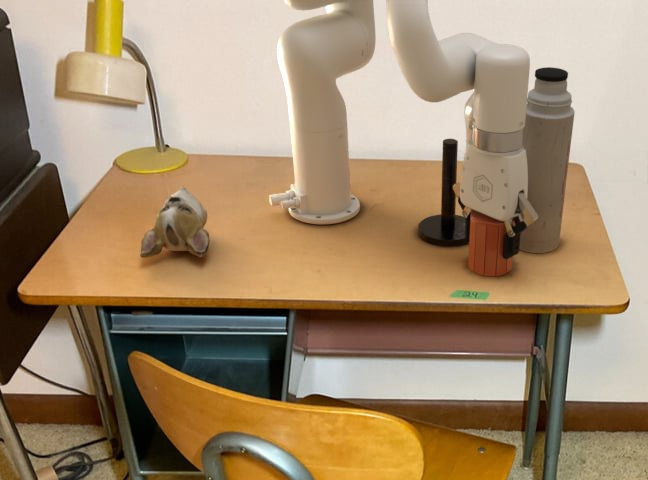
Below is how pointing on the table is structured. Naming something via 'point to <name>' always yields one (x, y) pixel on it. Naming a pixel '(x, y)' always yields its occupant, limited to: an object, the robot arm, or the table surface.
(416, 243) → the table surface
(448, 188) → the bowl
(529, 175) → the thermos bottle
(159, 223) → the ceramic sculpture
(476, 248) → the cup
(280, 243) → the table surface
